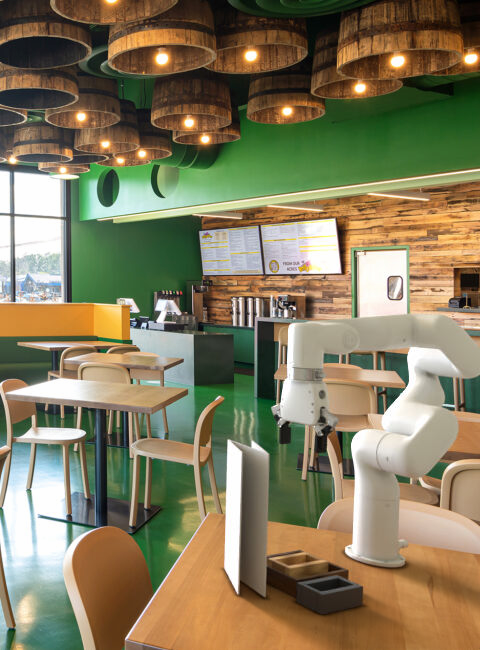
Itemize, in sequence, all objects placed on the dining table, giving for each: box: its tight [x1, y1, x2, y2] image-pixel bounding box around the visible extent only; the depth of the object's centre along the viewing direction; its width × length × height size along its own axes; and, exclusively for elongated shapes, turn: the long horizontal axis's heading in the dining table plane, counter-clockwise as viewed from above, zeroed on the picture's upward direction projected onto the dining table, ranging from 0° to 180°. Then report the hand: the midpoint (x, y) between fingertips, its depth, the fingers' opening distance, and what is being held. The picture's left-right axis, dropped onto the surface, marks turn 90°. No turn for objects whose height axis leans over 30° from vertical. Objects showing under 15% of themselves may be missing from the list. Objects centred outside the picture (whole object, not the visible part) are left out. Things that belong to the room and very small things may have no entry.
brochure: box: [223, 438, 270, 598], centre depth 146 cm, size 14×6×30 cm, turn 170°
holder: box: [266, 549, 350, 598], centre depth 149 cm, size 16×13×4 cm
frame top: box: [267, 551, 329, 578], centre depth 149 cm, size 12×6×4 cm, turn 114°
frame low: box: [295, 575, 364, 615], centre depth 137 cm, size 12×6×4 cm, turn 114°
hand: (302, 448), depth 156 cm, fingers open, 9 cm apart
